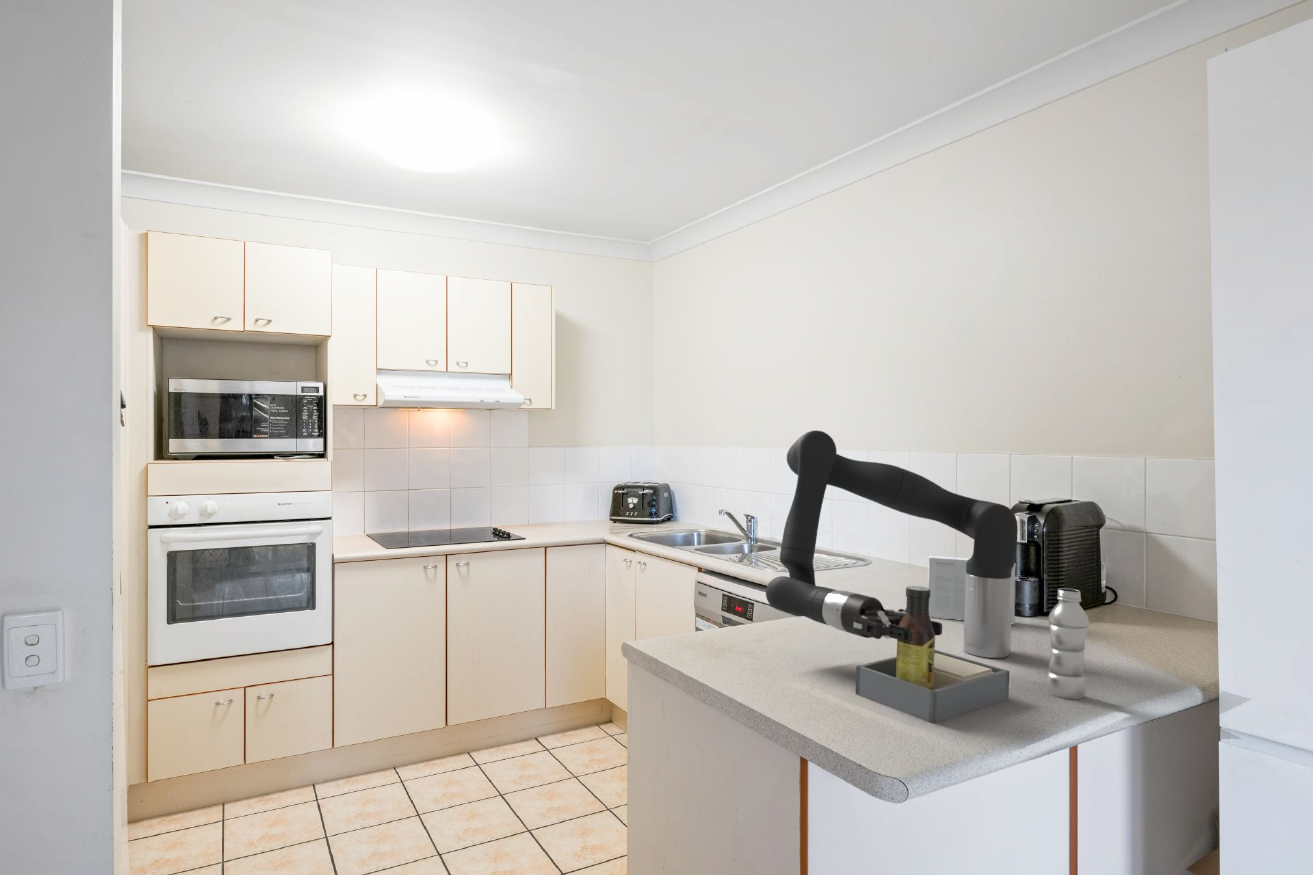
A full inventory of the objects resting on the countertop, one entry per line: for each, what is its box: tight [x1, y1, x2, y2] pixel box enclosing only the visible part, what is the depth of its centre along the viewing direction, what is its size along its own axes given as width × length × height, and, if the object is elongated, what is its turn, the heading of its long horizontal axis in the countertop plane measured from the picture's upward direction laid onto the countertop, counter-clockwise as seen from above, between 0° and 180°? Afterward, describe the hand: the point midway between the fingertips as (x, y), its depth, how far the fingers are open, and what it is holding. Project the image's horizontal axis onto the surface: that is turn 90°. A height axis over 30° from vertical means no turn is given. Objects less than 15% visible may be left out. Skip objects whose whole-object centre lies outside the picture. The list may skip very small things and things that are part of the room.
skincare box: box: [927, 555, 1017, 624], centre depth 200 cm, size 21×5×16 cm, turn 71°
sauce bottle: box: [896, 585, 936, 690], centre depth 134 cm, size 7×6×20 cm
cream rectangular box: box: [933, 653, 994, 690], centre depth 140 cm, size 9×12×5 cm
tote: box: [855, 649, 1010, 725], centre depth 137 cm, size 22×16×6 cm
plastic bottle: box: [1045, 587, 1090, 700], centre depth 140 cm, size 6×7×20 cm
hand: (926, 632), depth 133 cm, fingers open, 8 cm apart
